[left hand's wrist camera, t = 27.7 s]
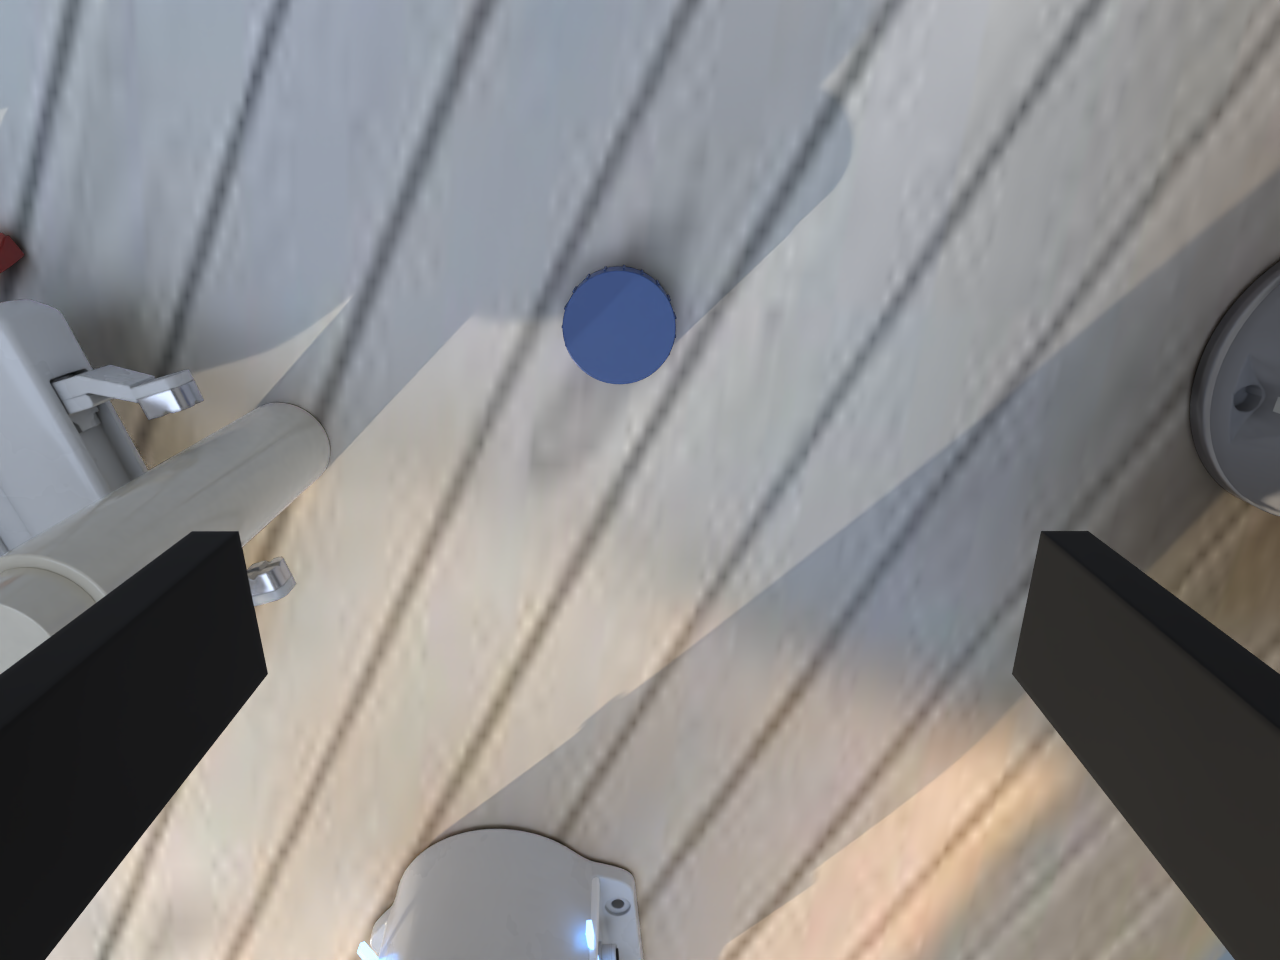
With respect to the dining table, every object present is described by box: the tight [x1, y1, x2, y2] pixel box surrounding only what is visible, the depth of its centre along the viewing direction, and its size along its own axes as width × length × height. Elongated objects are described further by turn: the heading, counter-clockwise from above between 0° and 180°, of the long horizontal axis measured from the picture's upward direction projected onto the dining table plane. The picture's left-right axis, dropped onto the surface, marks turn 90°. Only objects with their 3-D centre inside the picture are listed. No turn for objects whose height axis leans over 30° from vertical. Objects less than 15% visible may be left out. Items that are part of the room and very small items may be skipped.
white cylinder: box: [0, 403, 330, 674], centre depth 31 cm, size 5×5×20 cm
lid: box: [562, 265, 676, 384], centre depth 37 cm, size 6×6×2 cm
